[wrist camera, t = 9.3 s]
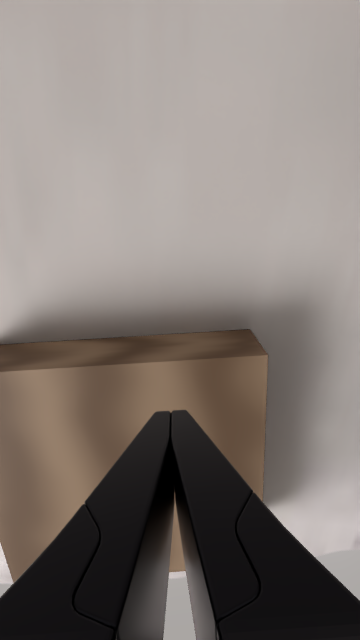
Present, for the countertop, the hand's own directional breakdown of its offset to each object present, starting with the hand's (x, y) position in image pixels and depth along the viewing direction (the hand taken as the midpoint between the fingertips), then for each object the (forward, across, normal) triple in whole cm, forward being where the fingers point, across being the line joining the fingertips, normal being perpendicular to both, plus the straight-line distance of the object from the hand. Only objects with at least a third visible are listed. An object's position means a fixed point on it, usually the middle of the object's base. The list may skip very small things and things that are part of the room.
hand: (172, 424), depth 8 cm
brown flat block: (+12, +3, +10) cm, 16 cm away
